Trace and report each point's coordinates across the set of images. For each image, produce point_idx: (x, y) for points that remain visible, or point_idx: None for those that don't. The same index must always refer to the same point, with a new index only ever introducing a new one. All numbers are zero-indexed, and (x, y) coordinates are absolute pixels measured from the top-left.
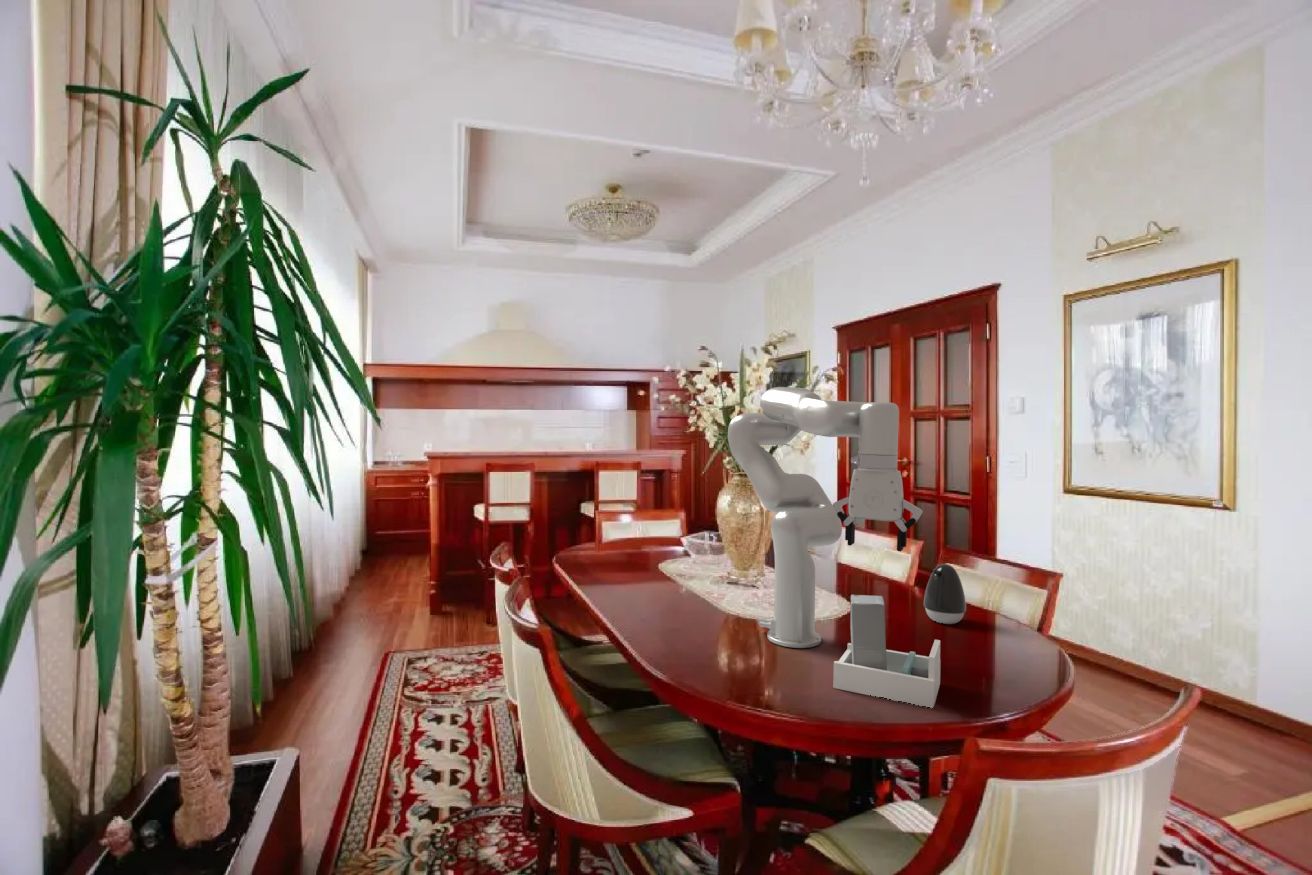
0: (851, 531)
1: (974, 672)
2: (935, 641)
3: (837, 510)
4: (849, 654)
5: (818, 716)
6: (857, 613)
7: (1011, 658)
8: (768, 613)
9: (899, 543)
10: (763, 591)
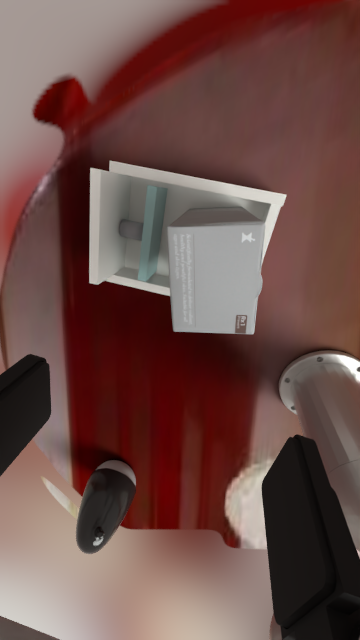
0: (315, 531)
1: (83, 322)
2: (96, 273)
3: None
4: None
5: (323, 25)
6: (244, 218)
7: None
8: None
9: (2, 378)
10: None
